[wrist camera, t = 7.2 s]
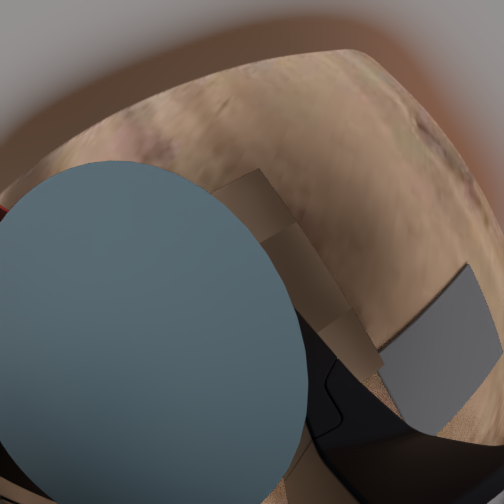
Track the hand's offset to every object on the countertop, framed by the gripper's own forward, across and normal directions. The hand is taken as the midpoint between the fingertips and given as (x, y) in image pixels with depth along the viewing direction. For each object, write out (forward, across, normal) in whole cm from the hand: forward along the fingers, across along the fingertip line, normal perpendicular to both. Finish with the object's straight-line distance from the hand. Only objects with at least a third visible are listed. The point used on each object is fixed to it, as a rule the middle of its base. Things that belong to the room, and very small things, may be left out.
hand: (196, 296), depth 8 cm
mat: (+3, -17, +10) cm, 20 cm away
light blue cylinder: (+4, 0, +6) cm, 7 cm away
